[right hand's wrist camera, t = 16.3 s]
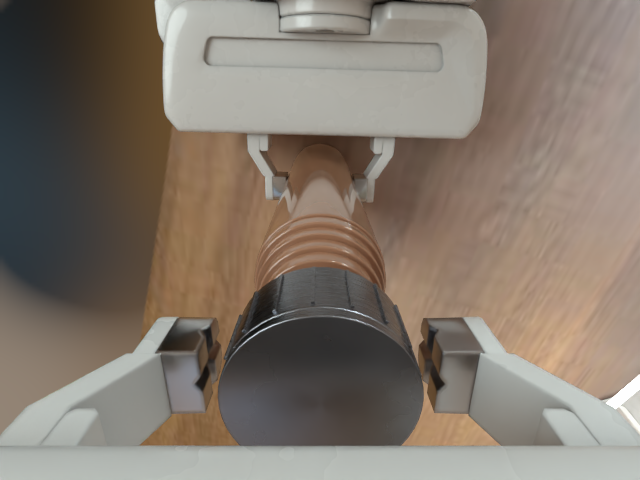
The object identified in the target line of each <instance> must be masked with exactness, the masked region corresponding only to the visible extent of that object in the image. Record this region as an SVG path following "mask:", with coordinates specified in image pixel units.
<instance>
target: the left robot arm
mask: <svg viewBox="0 0 640 480" xmlns="http://www.w3.org/2000/svg"><path fill="white" fill-rule="evenodd" d="M475 1H476V0H155V10H156V19H157V28H158V32H159V36H160V38H161V40H162V42H163V44H164V48H163V97H164V110H165V114H166V117H167V118H168V119H169V121H170V122H171V123H172V124H173V125H174V126H175V128H176V129H177V130H179V131H181V132H211V133H247V142H248V152H249V154H250V155H251V157H252V158H253V160H254V162H255V163H256V165H257V167H258V168H259V170H260V171H261V173H262V175H263V176H265V188H266V200H279V199H280V196H281V194H282V191H283V189H284V186H285V183H286V181H287V178H288V172H277V170H276V168H275V166H274V165H273V163H272V161H271V159H270V157H269V156H268V154H267V152H266V151H267V150H268V149H269V148H270V147H271V146H272V134H288V135H326V136H364V137H370V149H371V150H372V151H373V152H374V153H375V155H374V157H373V158H372V160H371V162H370V163H369V165H368V166H367V168H366V170H365V171H364V173H363V174H352V179H353V181H354V184H355V186H356V189H357V191H358V194H359V196H360V199H361V202H373V199H374V188H375V179H377V178H378V177H379V175H380V174H381V172H382V171H383V170H384V168H385V167H386V165H387V164H388V162H389V161H390V159H391V158H392V157H393V155H394V146H395V137H403V138H441V139H464V138H466V137H467V136H468V135H469V134H470V133H471V132H472V130H473V129H474V128H475V127H476V126H477V125H478V123H479V121H480V117H481V112H482V107H483V100H484V92H485V83H486V70H487V34H486V29H485V25H484V23H483V21H482V19H481V17H480V16H479V15H478V14H477V13H476V12H475V11H474V10H473V9H471V8H469V7H468V6H470V5H471V4H472V3H474V2H475Z"/></svg>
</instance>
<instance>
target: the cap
mask: <svg viewBox="0 0 640 480" xmlns="http://www.w3.org/2000/svg"><path fill="white" fill-rule="evenodd" d="M224 359H225V360H226V362H225V365H224V368H223V371H222V374H221V377H220V381H219V386H218V403H219V410H220V413H221V416H222V419H223V421H224V424H225V426H226V428H227V429H228V431H229V432H230V434H231V435H232V437H233V438H234V439H235V440H236V442H237V443H238V444H239V445H240V446H401V445H402V444H403V443H404V442H405V441H406V440H407V438H408V437H409V436H410V434H411V433H412V431H413V430H414V428H415V426H416V424H417V422H418V420H419V417H420V414H421V411H422V406H423V399H424V394H423V383H422V379H421V372H420V369H419V366H418V364H417V361H416V358H415V355H414V353H413V350H412V345H411V342H410V340H409V337H408V334H407V331H406V329H405V326H404V323H403V321H402V318H401V315H400V312H399V310H398V307H397V305H394V304H393V302H392V301H391V300H390V298H389V297H388V296H387V295H386V294H385V293H384V292H383V291H382V290H381V289H380V288H379V287H378V285H377V284H376V283H375V284H374V283H372V282H371V281H370V280H368V279H366V278H364V277H362V276H360V275H358V274H355V273H353V272H350V271H349V270H342V269H338V268H331V267H311V268H303V269H299V270H295V271H291V272H289V273H286V274H281V275H280V276H279V277H277V278H275V279H273V280H272V281H270V282H269V283H267V284H266V285H264V286H263V287H262V288H261V289H260V290H259V291H258V292H257V291H256V292H255V293H254V295H253V297H252V299H251V300H250V301H249V303H248V304H247V306H246V308H245V309H244V312H243V314H242V315H239V318H238V321H237V323H236V326H235V329H234V332H233V335H232V337H231V340H230V343H229V346H228V348H227V351H226V354H225V357H224Z"/></svg>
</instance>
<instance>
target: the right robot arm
mask: <svg viewBox="0 0 640 480" xmlns="http://www.w3.org/2000/svg"><path fill="white" fill-rule="evenodd" d="M218 334H219V325H218V321H217V319H216V318H201V317H161V318H158V319H157V320H156V322H155V323H154V325H153V326H152V327H151V329H150V330H149V331H148V333H147V334H146V335H145V337H144V338H143V340H142V341H141V342H140V344H139V345H138V346H137V348H136V349H135V351H134V352H133V353H132V354H125V355H123V356H121V357H119V358H117V359H115V360H114V361H112V362H110V363H108V364H106V365H104V366H102V367H100V368H99V369H97V370H95V371H93V372H91V373H89V374H87V375H86V376H84V377H82V378H80V379H78V380H76V381H74V382H72V383H70V384H69V385H67V386H65V387H63V388H61V389H59V390H57V391H56V392H54V393H52V394H50V395H48V396H46V397H44V398H42V399H41V400H39V401H37V402H35V403H33V404H31V405H29V406H27V407H26V408H25V409H24V410H23V411H22V412H21V413H20V414H19V416H18V417H17V418H16V419H15V420H14V421H13V422H12V423H11V424H10V425H9V426H8V427H7V428H6V429H5V430H4V431H3V433H2V434H1V435H0V480H640V375H639V376H638V377H637V378H635V379H634V380H633V381H632V382H631V383H629V384H628V385H627V386H626V387H625V388H624V389H622V390H621V391H620V392H619V393H618V394H617V395H615V396H614V397H612V398H608V399H605V400H599V399H598V398H596V397H594V396H592V395H590V394H588V393H586V392H584V391H583V390H581V389H579V388H577V387H575V386H573V385H571V384H569V383H568V382H566V381H564V380H562V379H560V378H558V377H556V376H555V375H553V374H551V373H549V372H547V371H545V370H543V369H541V368H540V367H538V366H536V365H534V364H532V363H530V362H528V361H526V360H525V359H523V358H521V357H519V356H517V355H515V354H508V353H507V352H506V351H505V349H504V348H503V346H502V345H501V344H500V342H499V341H498V340H497V338H496V337H495V336H494V334H493V333H492V331H491V330H490V329H489V327H488V326H487V325H486V323H485V322H484V321H483V319H482V318H480V317H460V318H423V321H422V325H421V334H422V336H423V338H424V340H423V341H422V343H421V344H420V345H419V351H418V362H419V369H420V372H421V377H422V380H423V381H424V382H426V383H427V384H428V390H427V394H428V397H429V399H430V402H431V405H432V407H433V410H434V413H456V414H469V416H470V417H471V418H472V419H473V420H474V421H475V422H476V423H477V424H478V425H479V426H480V427H482V428H483V429H484V430H485V431H486V432H487V433H488V434H489V435H490V436H491V437H492V438H494V439H495V440H496V441H497V442H498V443H499V444H500V445H501V446H139V445H140V444H141V443H142V442H143V441H145V440H146V439H147V438H148V437H149V436H150V435H151V434H152V433H153V432H154V431H155V430H156V429H158V428H159V427H160V426H161V425H162V424H163V423H164V422H165V421H166V420H167V419H168V418H170V417H171V414H184V413H206V410H207V408H208V405H209V402H210V399H211V397H212V394H213V390H212V384H213V383H215V382H216V381H217V380H218V377H219V374H220V369H221V363H222V350H221V345H220V344H219V343H218V341H217V340H216V339H217V336H218Z"/></svg>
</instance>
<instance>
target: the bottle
mask: <svg viewBox="0 0 640 480" xmlns="http://www.w3.org/2000/svg"><path fill="white" fill-rule="evenodd" d="M311 267H331V268H338V269H342V270H349V271H350V272H353V273H355V274H358V275H360V276H362V277H364V278H366V279H368V280H370V281H371V282H372V283H374V284H375V283H376V284H377V285H378V287H379V288H380V289H381V290H382V291H383V292H384V293H385V287H386V273H385V264H384V259H383V255H382V253H381V250H380V248H379V245H378V242H377V240H376V237H375V235H374V232H373V230H372V227H371V225H370V222H369V219H368V217H367V214H366V212H365V209H364V207H363V204H362V202H361V199H360V196H359V194H358V191H357V189H356V186H355V184H354V181H353V179H352V176H351V173H350V171H349V168H348V166H347V163H346V161H345V159H344V157H343V155H342V154H341V153H340V152H339V151H338V150H337V149H335V148H334V147H332V146H330V145H326V144H314V145H310V146H308V147H306V148H304V149H303V150H302V151H301V152H300V153H299V154H298V155H297V156H296V158H295V160H294V162H293V165H292V168H291V170H290V173H289V176H288V178H287V181H286V183H285V186H284V189H283V191H282V194H281V196H280V199H279V202H278V204H277V207H276V210H275V212H274V215H273V217H272V220H271V223H270V225H269V228H268V231H267V233H266V236H265V238H264V241H263V244H262V246H261V249H260V251H259V254H258V257H257V261H256V269H255V290H256V291H257V292H258V291H259V290H260V289H261V288H262V287H263V286H264V285H266V284H267V283H269V282H270V281H272V280H273V279H275V278H277V277H279V276H280V275H281V274H286V273H289V272H291V271H295V270H299V269H303V268H311Z"/></svg>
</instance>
